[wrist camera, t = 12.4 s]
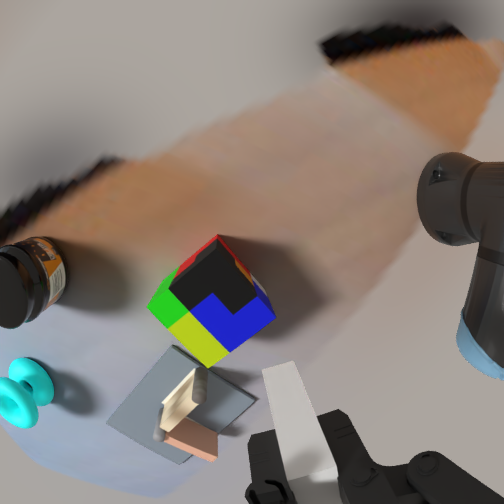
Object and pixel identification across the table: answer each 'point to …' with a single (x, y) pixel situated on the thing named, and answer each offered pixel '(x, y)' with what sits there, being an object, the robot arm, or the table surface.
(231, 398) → the card
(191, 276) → the puzzle toy
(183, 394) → the rail
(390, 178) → the table surface
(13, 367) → the donuts
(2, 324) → the supplement container
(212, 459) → the salmon gate panel
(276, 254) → the table surface
